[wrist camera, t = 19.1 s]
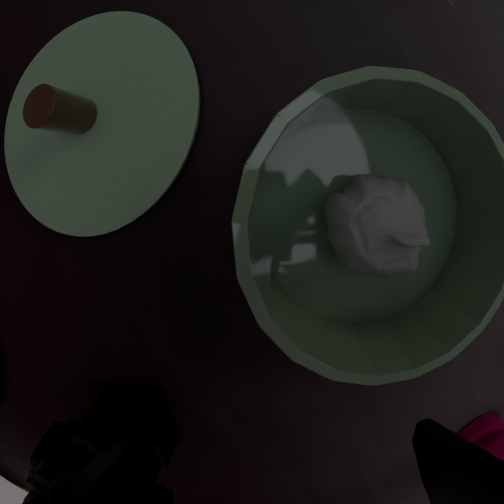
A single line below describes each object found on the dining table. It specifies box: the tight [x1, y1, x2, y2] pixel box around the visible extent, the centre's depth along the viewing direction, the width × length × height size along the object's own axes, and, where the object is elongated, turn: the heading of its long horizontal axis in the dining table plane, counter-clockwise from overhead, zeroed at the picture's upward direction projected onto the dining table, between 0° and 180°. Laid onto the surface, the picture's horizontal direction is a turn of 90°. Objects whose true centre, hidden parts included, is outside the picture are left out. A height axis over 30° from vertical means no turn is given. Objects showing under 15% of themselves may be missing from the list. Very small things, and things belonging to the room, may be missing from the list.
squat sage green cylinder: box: [231, 66, 504, 386], centre depth 15 cm, size 14×14×6 cm
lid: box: [4, 11, 200, 237], centre depth 15 cm, size 15×15×6 cm
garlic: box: [324, 174, 430, 278], centre depth 15 cm, size 6×5×5 cm
